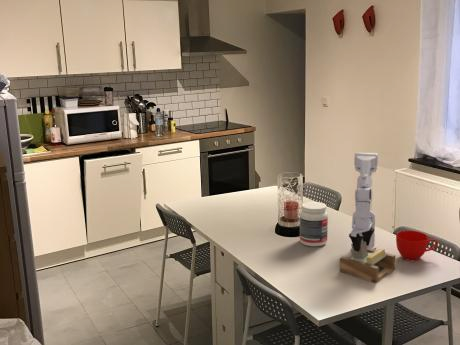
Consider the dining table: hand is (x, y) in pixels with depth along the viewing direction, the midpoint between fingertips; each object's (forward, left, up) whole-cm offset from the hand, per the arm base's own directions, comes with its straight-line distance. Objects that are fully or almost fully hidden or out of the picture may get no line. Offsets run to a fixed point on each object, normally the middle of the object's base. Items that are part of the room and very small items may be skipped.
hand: (361, 248), depth 210 cm
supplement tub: (-11, -31, -9) cm, 34 cm away
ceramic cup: (-24, +13, -9) cm, 29 cm away
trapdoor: (0, +3, -4) cm, 5 cm away
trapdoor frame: (0, +3, -9) cm, 9 cm away
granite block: (0, 0, -4) cm, 4 cm away
